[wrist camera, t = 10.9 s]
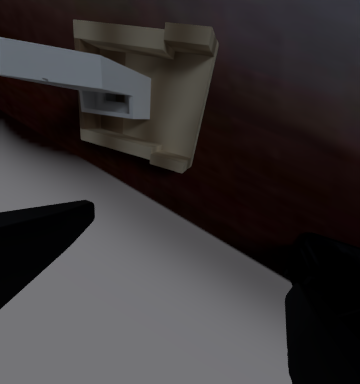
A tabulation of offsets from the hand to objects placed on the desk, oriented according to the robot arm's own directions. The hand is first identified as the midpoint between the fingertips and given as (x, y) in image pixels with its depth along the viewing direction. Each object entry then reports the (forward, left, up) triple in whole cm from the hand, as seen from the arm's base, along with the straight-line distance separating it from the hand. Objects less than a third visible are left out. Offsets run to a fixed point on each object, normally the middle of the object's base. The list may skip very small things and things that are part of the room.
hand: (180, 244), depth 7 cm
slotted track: (+9, -5, -13) cm, 17 cm away
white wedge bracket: (+11, -5, -12) cm, 17 cm away
